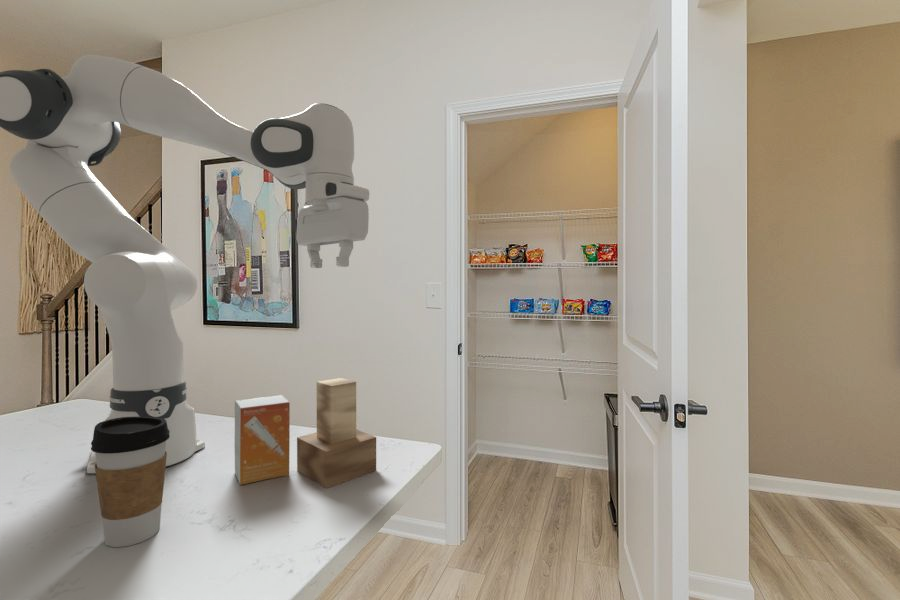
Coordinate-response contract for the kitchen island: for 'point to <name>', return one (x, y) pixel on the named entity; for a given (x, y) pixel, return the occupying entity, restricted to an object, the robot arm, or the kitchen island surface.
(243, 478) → the small box
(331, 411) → the oak block
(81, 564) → the kitchen island surface
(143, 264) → the robot arm
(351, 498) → the kitchen island surface
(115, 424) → the coffee cup
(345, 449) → the walnut block
